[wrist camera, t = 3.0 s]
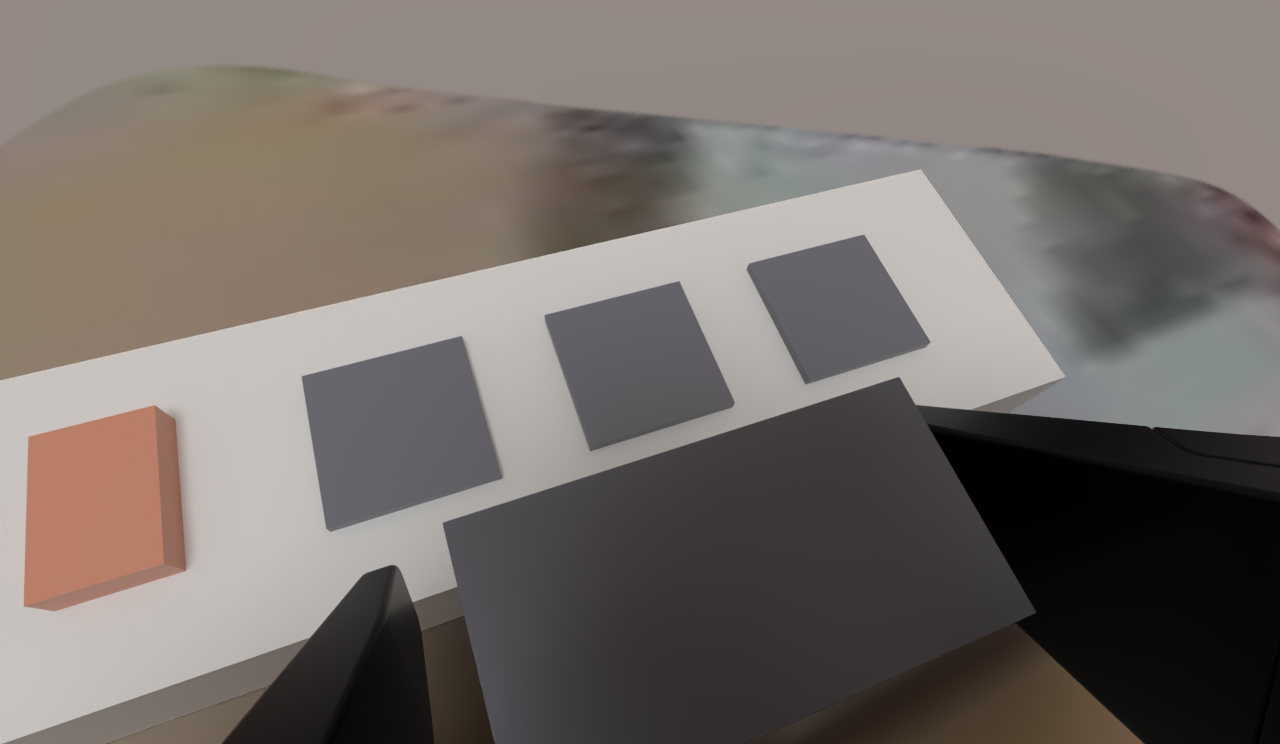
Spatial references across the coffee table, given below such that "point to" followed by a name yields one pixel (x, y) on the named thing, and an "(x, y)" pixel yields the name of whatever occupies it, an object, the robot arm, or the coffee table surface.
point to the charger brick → (729, 580)
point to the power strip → (438, 432)
